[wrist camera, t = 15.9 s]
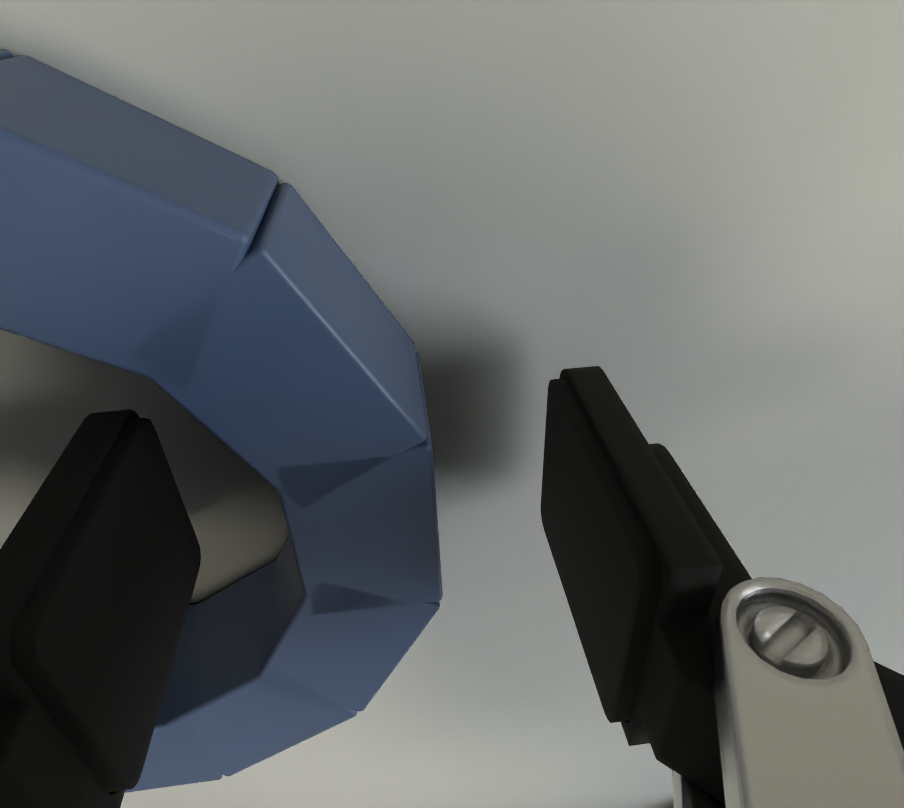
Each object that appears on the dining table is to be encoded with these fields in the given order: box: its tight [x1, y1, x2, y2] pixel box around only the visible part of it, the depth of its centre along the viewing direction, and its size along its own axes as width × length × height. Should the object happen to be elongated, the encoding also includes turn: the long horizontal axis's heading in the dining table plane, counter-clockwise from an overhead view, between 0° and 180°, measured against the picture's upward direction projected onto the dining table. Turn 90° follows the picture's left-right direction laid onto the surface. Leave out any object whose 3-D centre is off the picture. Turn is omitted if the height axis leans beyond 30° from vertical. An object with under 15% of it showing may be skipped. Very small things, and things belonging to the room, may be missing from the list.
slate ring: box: [0, 49, 443, 793], centre depth 9 cm, size 12×12×2 cm
